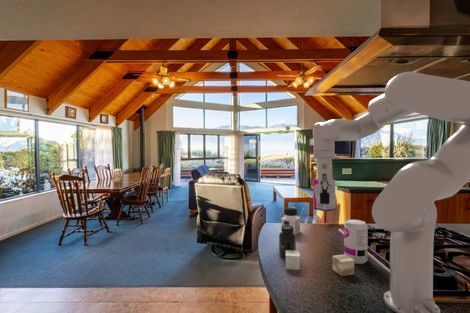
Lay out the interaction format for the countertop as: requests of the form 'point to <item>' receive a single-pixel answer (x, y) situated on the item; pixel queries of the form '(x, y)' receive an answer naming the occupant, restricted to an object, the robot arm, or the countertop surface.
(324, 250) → the countertop surface
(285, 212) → the container
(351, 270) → the birch block
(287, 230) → the supplement bottle
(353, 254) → the supplement can
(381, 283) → the countertop surface
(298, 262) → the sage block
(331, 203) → the supplement box
